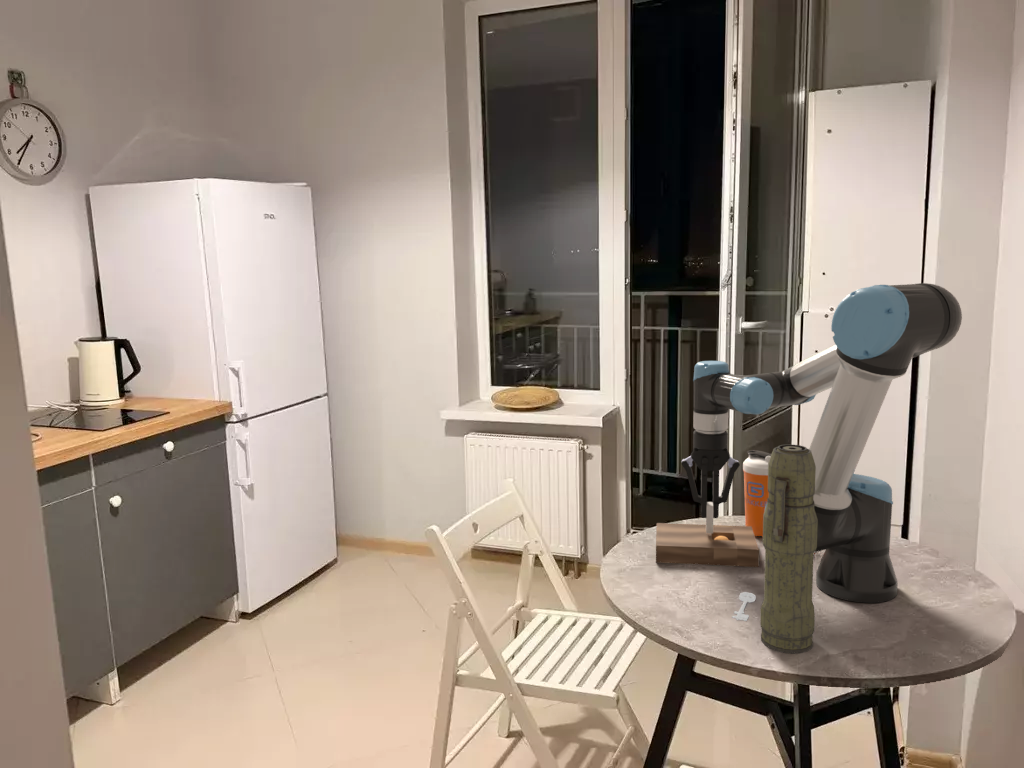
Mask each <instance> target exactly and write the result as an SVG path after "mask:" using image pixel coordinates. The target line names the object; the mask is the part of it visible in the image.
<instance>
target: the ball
mask: <svg viewBox="0 0 1024 768" xmlns="http://www.w3.org/2000/svg"><path fill="white" fill-rule="evenodd" d="M714 540H729V539H728V538H727V537H725V536H718V537H716V538H715V539H714Z"/></svg>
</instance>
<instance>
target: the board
mask: <svg viewBox="0 0 1024 768" xmlns="http://www.w3.org/2000/svg"><path fill="white" fill-rule="evenodd" d="M655 535H656V536H655V563H657V564H659V563H660V564H676V565H677V564H679V565H680V564H681V565H682V564H684V565H698V566H699V565H703V566H704V565H705V566H722V567H723V566H725V567H743V568H744V567H747V568H759V564H760V563H759V562H760V561H759V560H760V558H759V557H760V549H759V545H758V543H757V542H758V541H757V540H756V536H754V533H753V529H752V526H745V525H724V524H721V525H719V524H713V533H706V524H693V523H668V522H656V532H655ZM718 536H725V537H727V538H728V539H729V540H714V539H715V538H716V537H718Z"/></svg>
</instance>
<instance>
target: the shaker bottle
mask: <svg viewBox="0 0 1024 768" xmlns="http://www.w3.org/2000/svg"><path fill="white" fill-rule="evenodd" d="M746 453H747V454H748V457H747V458H746V459H745V460H744V461H743V463H742V471H743V481H744V482H743V483H744V486H743V487H744V488H743V489H744V491H743V493H744V517H745V519H744V520H745V521H744V522H745V524H744V526H752V529H753V533H754V536H755V537H757V536H762V537H761V538H763V514H764V511H765V506H766V504H767V498H768V497H769V492H768V463H769V460H770V457H771V454H772V453H769V452H766V451H762V450H754V449H753V450H751V449H750V450H747V451H746Z"/></svg>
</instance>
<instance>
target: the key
mask: <svg viewBox="0 0 1024 768" xmlns="http://www.w3.org/2000/svg"><path fill="white" fill-rule="evenodd" d="M756 597H757V596H756V595H755V594H754V593H752V592H748V591H743V592H740V593H739V596H738V599H739V600H740V601H741V602H743V603H742V604H741V606H740V608H739V609H738V611H737V610H734V611H733V614H734V615H731V618H732V619H733V618H734V619H736V621H739V620H740V621H744V622H747V621H748V620H749V616H750V615H749V614H745V611H744V610H745V608H746V605H747V603H754V602H755V600H756ZM735 614H736V615H735Z"/></svg>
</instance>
